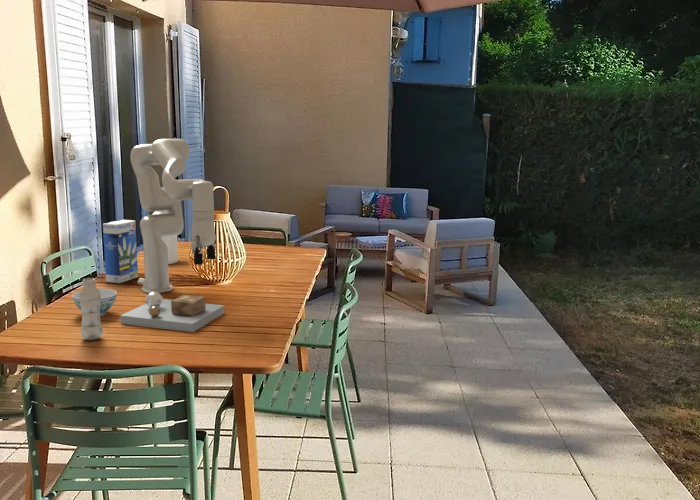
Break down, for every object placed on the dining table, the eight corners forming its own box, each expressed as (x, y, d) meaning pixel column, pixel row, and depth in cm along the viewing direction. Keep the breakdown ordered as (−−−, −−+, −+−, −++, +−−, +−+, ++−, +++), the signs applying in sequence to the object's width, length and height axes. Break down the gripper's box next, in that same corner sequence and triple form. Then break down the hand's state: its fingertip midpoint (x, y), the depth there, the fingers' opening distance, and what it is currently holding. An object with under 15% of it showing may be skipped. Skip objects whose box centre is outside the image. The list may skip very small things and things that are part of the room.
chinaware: (75, 322, 224) (74, 301, 223) (72, 311, 237) (70, 291, 236) (120, 317, 231) (119, 296, 229) (114, 306, 244) (113, 286, 242)
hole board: (120, 323, 224) (120, 315, 223) (157, 305, 246) (157, 298, 245) (192, 332, 216) (192, 323, 216) (224, 313, 238) (224, 305, 238)
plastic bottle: (84, 335, 211) (80, 276, 207) (106, 335, 211) (102, 276, 207) (78, 342, 205) (74, 281, 201) (100, 342, 205) (96, 281, 201)
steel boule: (142, 309, 230) (141, 293, 229) (151, 305, 236) (150, 289, 235) (156, 311, 229) (156, 294, 228) (166, 306, 235) (165, 290, 233)
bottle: (147, 260, 323) (145, 204, 317) (175, 258, 329) (173, 203, 323) (151, 266, 310) (149, 208, 305) (180, 263, 316) (178, 207, 311)
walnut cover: (171, 313, 226) (171, 300, 225) (184, 306, 234) (183, 294, 233) (193, 315, 224) (193, 302, 223) (205, 308, 232) (205, 296, 231)
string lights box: (119, 283, 277) (116, 224, 272) (105, 282, 279) (101, 223, 274) (138, 276, 289) (136, 220, 284) (124, 275, 291) (121, 219, 286)
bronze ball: (146, 317, 221) (146, 307, 220) (153, 314, 225) (152, 304, 224) (156, 319, 220) (156, 308, 219) (162, 315, 224) (162, 305, 223)
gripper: (205, 211, 241) (206, 256, 245) (182, 218, 225) (183, 265, 228) (223, 212, 240) (224, 257, 243) (201, 219, 223) (203, 267, 226)
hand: (204, 261), depth 236 cm, fingers open, 9 cm apart
